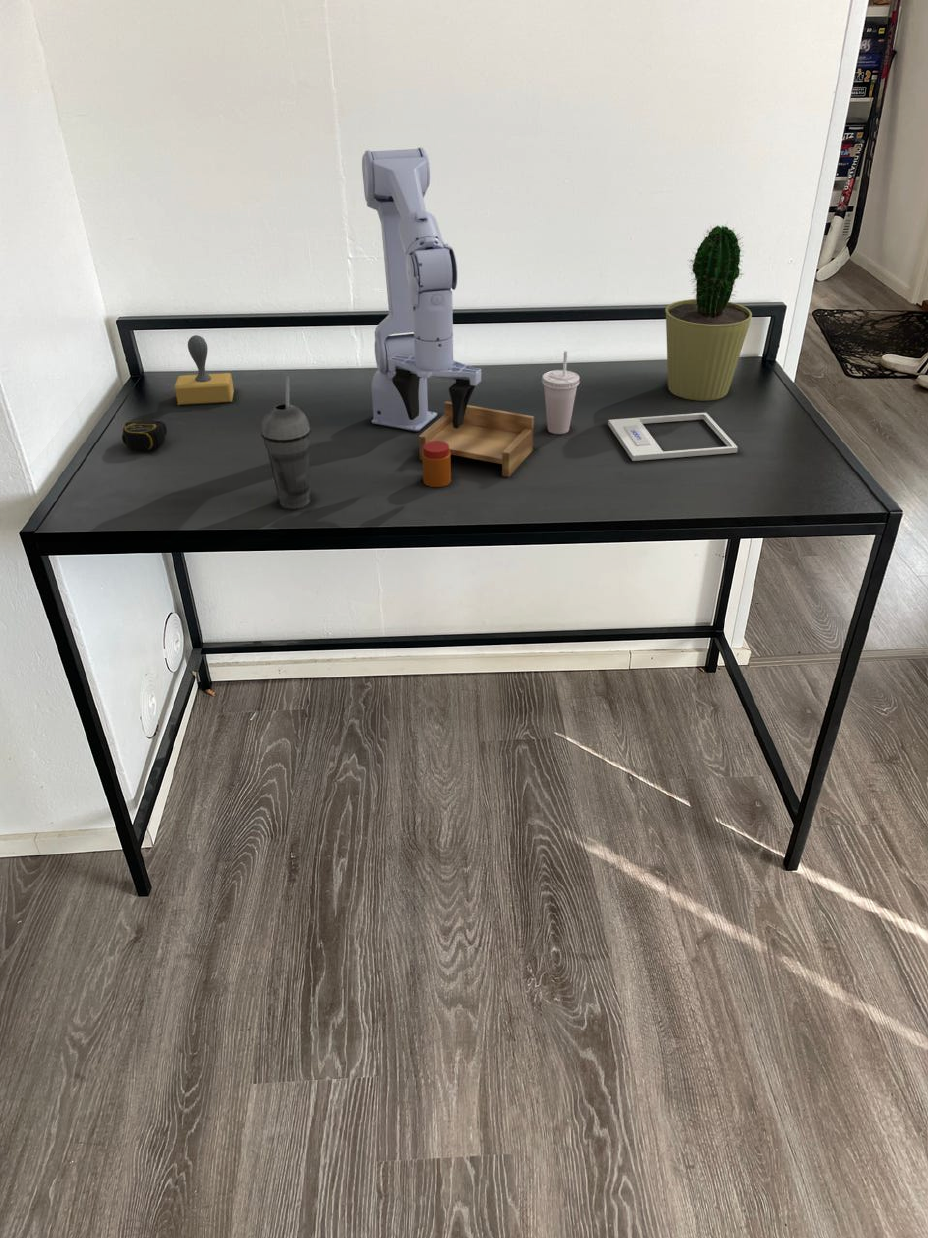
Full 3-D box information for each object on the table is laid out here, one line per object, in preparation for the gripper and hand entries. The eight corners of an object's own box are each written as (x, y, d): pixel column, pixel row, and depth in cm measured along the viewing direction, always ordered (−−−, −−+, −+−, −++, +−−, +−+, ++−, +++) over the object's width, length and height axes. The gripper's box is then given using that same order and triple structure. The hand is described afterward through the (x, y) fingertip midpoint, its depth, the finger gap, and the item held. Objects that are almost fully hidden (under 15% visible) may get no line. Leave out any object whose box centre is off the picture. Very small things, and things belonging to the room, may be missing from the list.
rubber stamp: (234, 390, 182) (224, 329, 175) (231, 402, 177) (221, 339, 170) (181, 393, 181) (169, 331, 174) (177, 405, 176) (165, 342, 169)
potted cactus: (655, 372, 188) (673, 211, 170) (735, 375, 186) (761, 213, 168) (657, 403, 175) (677, 232, 158) (743, 406, 173) (772, 234, 156)
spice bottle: (418, 484, 150) (417, 449, 146) (430, 472, 153) (429, 438, 150) (443, 489, 148) (442, 454, 145) (455, 477, 151) (454, 443, 148)
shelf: (419, 459, 157) (418, 424, 153) (447, 434, 165) (446, 401, 161) (508, 477, 151) (509, 441, 148) (532, 450, 159) (534, 416, 156)
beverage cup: (273, 491, 148) (255, 367, 137) (319, 489, 149) (306, 365, 137) (269, 514, 142) (250, 386, 131) (317, 511, 143) (303, 384, 131)
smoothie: (574, 438, 163) (579, 359, 155) (537, 435, 164) (540, 357, 156) (578, 423, 168) (583, 346, 160) (542, 420, 169) (545, 343, 161)
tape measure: (169, 437, 165) (165, 417, 163) (162, 454, 160) (158, 433, 157) (130, 438, 165) (125, 418, 163) (121, 455, 159) (116, 435, 157)
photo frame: (608, 418, 167) (706, 411, 169) (608, 424, 167) (705, 417, 169) (633, 454, 155) (738, 446, 157) (632, 460, 155) (737, 452, 158)
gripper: (376, 336, 138) (382, 423, 146) (467, 350, 133) (467, 439, 141) (399, 321, 143) (403, 406, 151) (487, 334, 138) (486, 421, 146)
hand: (435, 421), depth 146 cm, fingers open, 7 cm apart
